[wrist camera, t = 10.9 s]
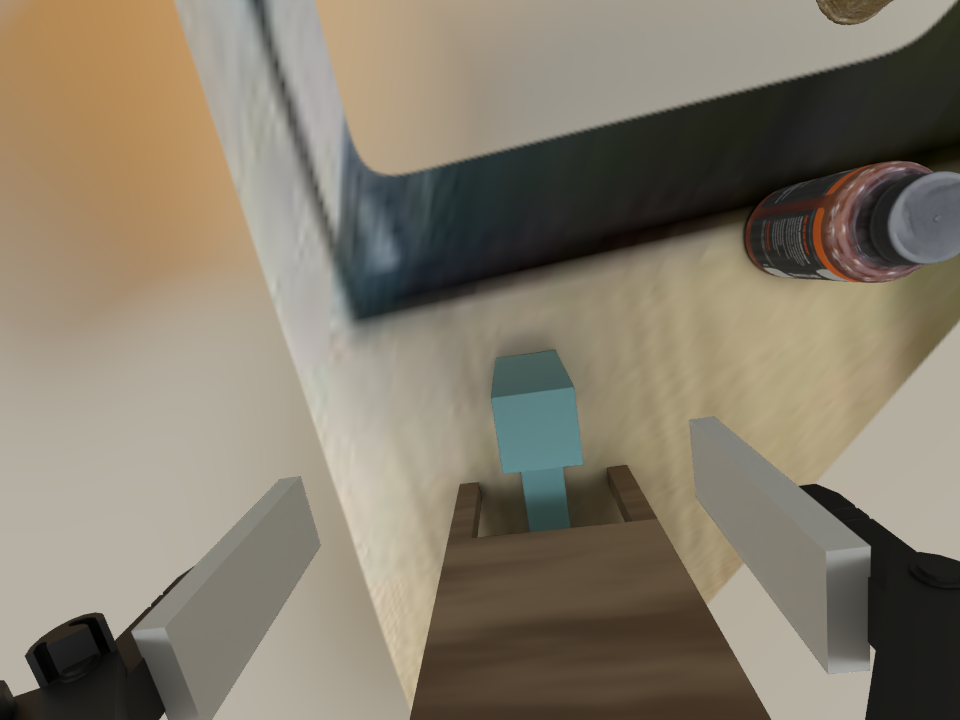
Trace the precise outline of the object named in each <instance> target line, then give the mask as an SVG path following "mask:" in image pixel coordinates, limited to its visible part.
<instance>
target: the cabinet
mask: <svg viewBox="0 0 960 720" xmlns="http://www.w3.org/2000/svg"><path fill="white" fill-rule="evenodd" d="M607 470H608V479H609V486H610V489H611V491H612V493H613V495H614V498H615V500H616V502H617V505H618V507H619V509H620V511H621V514H622V516H623V518H624V520H625V522H623V523H613V524H604V525H594V526H585V527H575V528H565V529H556V530H546V531H537V532H527V533H517V534H508V535H498V536H489V537H479V538H477V536H478V527H479V518H480V510H481V501H482V499H481V493H480V487H479V482H478V483H470V484H461V485H460V487H459V491H458V496H457V501H456V505H455V510H454V515H453V519H452V524H451V529H450V533H449V538H448V543H447V547H446V552H445V557H444V561H443V566H442V571H441V576H440V580H439V585H438V590H437V594H436V599H435V604H434V608H433V613H432V618H431V622H430V627H429V632H428V636H427V641H426V646H425V650H424V655H423V660H422V664H421V669H420V674H419V678H418V683H417V688H416V692H415V697H414V702H413V706H412V711H411V716H410V720H771V718H770V716H769V715H768V713H767V711H766V709H765V708H764V706H763V704H762V702H761V701H760V699H759V697H758V695H757V694H756V692H755V690H754V688H753V687H752V685H751V683H750V681H749V679H748V678H747V676H746V674H745V673H744V671H743V669H742V667H741V666H740V664H739V662H738V660H737V658H736V657H735V655H734V653H733V651H732V649H731V648H730V646H729V644H728V642H727V641H726V639H725V637H724V635H723V634H722V632H721V630H720V628H719V627H718V625H717V623H716V621H715V620H714V618H713V616H712V614H711V612H710V611H709V609H708V607H707V605H706V604H705V602H704V600H703V598H702V597H701V595H700V593H699V591H698V590H697V588H696V586H695V584H694V582H693V581H692V579H691V577H690V575H689V574H688V572H687V570H686V568H685V567H684V565H683V563H682V561H681V560H680V558H679V556H678V554H677V552H676V551H675V549H674V547H673V545H672V544H671V542H670V540H669V538H668V537H667V535H666V533H665V531H664V530H663V528H662V526H661V524H660V523H659V521H658V519H657V517H656V515H655V514H654V512H653V510H652V508H651V507H650V505H649V503H648V501H647V500H646V498H645V496H644V494H643V493H642V491H641V489H640V487H639V485H638V484H637V482H636V480H635V478H634V477H633V475H632V473H631V471H630V470H629V468H628V466H627V465H626V466H617V467H609V468H607Z"/></svg>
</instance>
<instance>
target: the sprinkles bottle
mask: <svg viewBox="0 0 960 720" xmlns="http://www.w3.org/2000/svg"><path fill="white" fill-rule="evenodd" d="M891 1H893V0H816V2H817V3H818V6H819V9H820V10H821V11H822V13H823V14H824V15H826V16H827V18H828V19H829V20H832V21H833V22H834V23H836V24H841V25H846V24H847V25H852V24H859V23H862V22H865V21H866V20H868V19H870V18H871V17H873V16H875V15H876V14H877V13H878V12H879V11H880V10H881V9H882V8H883V7H885V6H886V5H887V4H889V3H890V2H891Z"/></svg>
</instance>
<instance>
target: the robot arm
mask: <svg viewBox="0 0 960 720" xmlns="http://www.w3.org/2000/svg"><path fill="white" fill-rule="evenodd" d="M689 424H690V435H691V447H692V458H693V470H694V481H695V493H696V498H697V499H698V501H699V502H700V503H701V505H702V506H703V507H704V509H705V510H706V511H707V513H708V514H709V515H710V517H711V518H712V519H713V521H714V522H715V523H716V525H717V526H718V527H719V529H720V530H721V531H722V533H723V534H724V535H725V537H726V538H727V539H728V541H729V542H730V544H731V545H732V546H733V548H734V549H735V550H736V552H737V553H738V554H739V556H740V557H741V558H742V560H743V561H744V562H745V564H746V565H747V566H748V568H749V569H750V570H751V572H752V573H753V574H754V576H755V577H756V578H757V580H758V581H759V582H760V584H761V585H762V586H763V588H764V589H765V590H766V592H767V593H768V594H769V596H770V597H771V599H772V600H773V601H774V603H775V604H776V605H777V607H778V608H779V609H780V611H781V612H782V613H783V615H784V616H785V617H786V619H787V620H788V621H789V623H790V624H791V625H792V627H793V628H794V629H795V631H796V632H797V633H798V635H799V636H800V637H801V639H802V640H803V641H804V643H805V644H806V645H807V647H808V648H809V649H810V651H811V652H812V654H813V655H814V656H815V658H816V659H817V660H818V662H819V663H820V664H821V666H822V667H823V668H824V670H825V671H826V672H827V674H836V673H847V672H858V671H869V670H870V645H871V646H872V647H873V648H874V649H875V650H876V653H875V659H874V666H873V672H872V679H871V686H870V692H869V699H868V705H867V711H866V717H865V720H960V561H957V560H954V559H951V558H947V557H944V556H941V555H936V554H930V553H923V552H916V551H915V550H914V549H912V548H911V547H910V546H908V545H907V544H906V543H904V542H903V541H902V540H900V539H899V538H898V537H896V536H895V535H894V534H892V533H891V532H890V531H888V530H887V529H886V528H884V527H883V526H882V525H880V524H879V523H877V522H876V521H875V520H874V519H870V518H869V516H868V515H867V514H865V513H864V512H863V511H862V510H860V509H859V508H856V507H855V505H854V504H852V503H851V502H850V501H848V500H847V499H845V498H844V497H843V496H842V495H840V494H839V493H837V492H834V491H832V490H830V489H827V488H825V487H822V486H820V485H817V484H810V485H803V486H797V485H796V484H795V483H794V482H793V481H791V480H790V479H789V478H788V477H787V476H785V475H784V474H783V473H782V472H780V471H779V470H778V469H777V468H776V467H774V466H773V465H772V464H771V463H770V462H768V461H767V460H766V459H765V458H764V457H762V456H761V455H760V454H759V453H758V452H756V451H755V450H754V449H753V448H752V447H750V446H749V445H748V444H747V443H746V442H744V441H743V440H742V439H741V438H740V437H738V436H737V435H736V434H735V433H734V432H732V431H731V430H730V429H729V428H727V427H726V426H725V425H724V424H723V423H721V422H720V421H719V420H718V419H717V418H715V417H714V416H712V417H705V418H698V419H691V420H689ZM320 546H321V544H320V540H319V538H318V534H317V530H316V527H315V524H314V520H313V517H312V514H311V510H310V506H309V503H308V500H307V496H306V493H305V490H304V486H303V483H302V479H301V476H298V477H292V478H284V479H280V480H279V481H278V482H277V483H276V484H275V485H274V486H273V487H272V488H271V489H270V490H269V491H268V492H267V493H266V494H265V495H264V496H263V497H262V498H261V499H260V500H259V501H258V502H257V503H256V504H255V505H254V506H253V507H252V508H251V509H250V510H249V511H248V512H247V513H246V514H245V515H244V516H243V517H242V518H241V519H240V520H239V521H238V522H237V523H236V525H235V526H234V527H233V528H232V529H231V530H230V531H229V532H228V533H227V534H226V535H225V536H224V537H223V538H222V539H221V540H220V541H219V542H218V543H217V544H216V545H215V546H214V547H213V548H212V549H211V550H210V551H209V552H208V553H207V554H206V555H205V556H204V557H203V558H202V559H201V561H199V562H198V563H197V564H196V565H195V566H194V567H192V568H191V569H190V570H188V571H187V572H185V573H184V574H182V575H181V576H179V577H178V578H177V579H176V580H175V581H174V582H173V583H172V584H171V585H170V586H169V587H168V588H167V589H166V590H165V591H164V592H163V595H160V596H159V597H158V598H157V599H156V600H155V601H154V602H153V603H152V604H151V607H148V608H147V609H146V610H145V611H144V612H143V613H142V614H141V615H140V616H139V617H138V618H137V619H136V620H135V621H134V622H133V623H132V624H131V625H130V626H129V627H128V628H127V629H126V630H125V631H124V632H123V633H122V634H121V635H120V636H119V637H118V638H117V639H116V640H115V641H114V638H113V636H112V634H111V631H110V629H109V627H108V624H107V622H106V620H105V617H104V615H103V614H102V613H90V614H86V615H82V616H79V617H77V618H74V619H72V620H70V621H67V622H65V623H64V624H62V625H60V626H58V627H56V628H54V629H53V630H51V631H50V632H48V633H47V634H46V635H44V636H43V637H41V638H40V639H39V640H38V641H37V642H36V643H35V644H34V645H32V646H31V647H30V649H29V650H28V652H27V653H26V655H25V657H26V660H27V662H28V664H29V665H30V668H31V670H32V672H33V674H34V676H35V678H36V680H37V682H38V684H39V686H40V688H39V689H36V690H33V691H30V692H27V693H24V694H21V695H18V696H15V697H13V695H12V694H11V691H10V689H9V687H8V685H7V684H6V683H5V681H4V680H0V720H159V719H160V718H161V716H162V715H163V714H164V712H165V714H166V716H167V718H168V720H212V719H213V717H214V716H215V714H216V712H217V711H218V709H219V708H220V706H221V704H222V703H223V701H224V700H225V698H226V696H227V695H228V693H229V692H230V690H231V688H232V686H233V685H234V683H235V682H236V680H237V679H238V677H239V676H240V674H241V672H242V671H243V669H244V667H245V666H246V664H247V663H248V661H249V660H250V658H251V656H252V655H253V653H254V652H255V650H256V648H257V647H258V645H259V644H260V642H261V640H262V639H263V637H264V635H265V634H266V632H267V631H268V629H269V628H270V626H271V624H272V623H273V621H274V620H275V618H276V616H277V615H278V613H279V611H280V610H281V608H282V607H283V605H284V603H285V602H286V600H287V599H288V597H289V596H290V594H291V592H292V591H293V589H294V588H295V586H296V584H297V583H298V581H299V580H300V578H301V576H302V575H303V573H304V572H305V570H306V568H307V567H308V565H309V564H310V562H311V560H312V559H313V557H314V556H315V554H316V552H317V551H318V549H319V548H320Z"/></svg>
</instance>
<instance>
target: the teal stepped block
mask: <svg viewBox="0 0 960 720" xmlns="http://www.w3.org/2000/svg"><path fill="white" fill-rule="evenodd" d="M491 402H492V408H493V414H494V421H495V427H496V433H497V440H498V446H499V452H500V459H501V465H502V472H503V474H508V473H516V472H521V476H522V483H523V490H524V496H525V503H526V510H527V516H528V523H529V530H530V532H537V531H546V530H556V529H565V528H570V521H569V513H568V505H567V497H566V490H565V482H564V474H563V467H567V466H576V465H583V458H582V449H581V441H580V433H579V424H578V416H577V407H576V399H575V391H574V386H573V384H572V382H571V380H570V378H569V376H568V374H567V372H566V370H565V368H564V366H563V364H562V362H561V360H560V358H559V356H558V354H557V352H556V350H552V351H545V352H538V353H531V354H523V355H516V356H509V357H502V358H496V361H495V369H494V377H493V385H492V394H491Z"/></svg>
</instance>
